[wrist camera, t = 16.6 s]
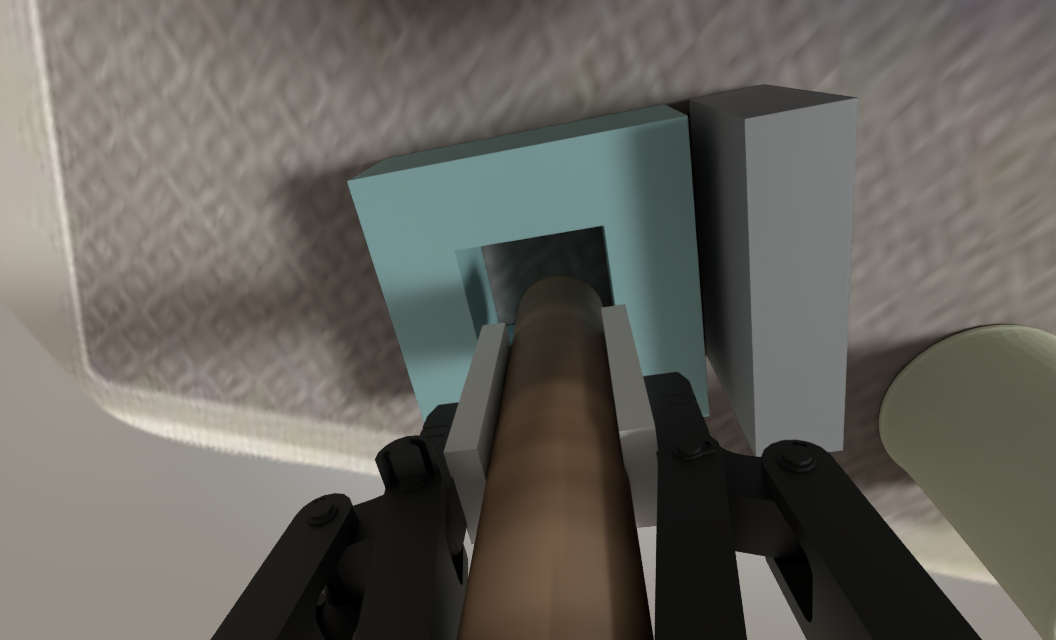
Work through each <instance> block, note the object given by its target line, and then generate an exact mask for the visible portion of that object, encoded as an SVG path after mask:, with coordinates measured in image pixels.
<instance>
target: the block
mask: <svg viewBox="0 0 1056 640" xmlns="http://www.w3.org/2000/svg"><path fill="white" fill-rule="evenodd" d="M347 183H348V186H349V189H350V192H351V195H352V198H353V201H354V205H355V208H356V211H357V214H358V217H359V220H360V223H361V226H362V230H363V233H364V236H365V239H366V242H367V245H368V248H369V252H370V255H371V258H372V261H373V264H374V267H375V270H376V273H377V277H378V280H379V283H380V286H381V289H382V292H383V295H384V299H385V302H386V305H387V308H388V311H389V314H390V317H391V320H392V324H393V327H394V330H395V333H396V336H397V339H398V342H399V345H400V349H401V352H402V355H403V358H404V361H405V364H406V367H407V371H408V374H409V377H410V380H411V383H412V386H413V389H414V392H415V396H416V399H417V402H418V405H419V408H420V411H421V414H422V418H423V421H424V423H425V420H426V418H427V416H428V415H429V414H430V413H431V412H432V411H433V410H434V409H435V407H436V406H437V405H441V404H448V403H456V402H459V400H460V397H461V394H462V391H463V387H464V384H465V381H466V378H467V374H468V371H469V368H470V365H471V361H472V358H473V355H474V352H475V348H476V345H477V342H478V339H479V335H480V332H481V329H482V326H484V325H490V324H497V323H499V321H498V317H497V312H496V308H495V304H494V300H493V295H492V291H491V287H490V282H489V278H488V274H487V270H486V265H485V261H484V257H483V253H482V248H481V246H485V245H491V244H497V243H503V242H509V241H515V240H520V239H526V238H532V237H538V236H544V235H550V234H556V233H562V232H568V231H574V230H580V229H585V228H591V227H597V226H602V233H603V240H604V247H605V254H606V261H607V268H608V275H609V282H610V289H611V296H612V303H613V306H616V305H623V304H625V305H626V310H627V314H628V318H629V322H630V326H631V330H632V334H633V338H634V342H635V346H636V350H637V354H638V359H639V363H640V367H641V371H642V375H643V376H648V375H655V374H663V373H670V372H679V373H680V374H681V375H683V376H684V377H685V378H687V379H688V380H689V381H690V384H691V386H692V389H693V392H694V394H695V397H696V399H697V403H698V405H699V407H700V410H701V412H702V415H703V417H707V416H709V403H708V389H707V376H706V362H705V348H704V335H703V321H702V307H701V293H700V280H699V266H698V252H697V239H696V225H695V211H694V198H693V184H692V170H691V156H690V143H689V129H688V116H687V115H685V114H683V113H681V112H679V111H677V110H675V109H673V108H671V107H669V106H667V105H665V104H662V105H657V106H652V107H647V108H642V109H636V110H631V111H626V112H621V113H616V114H611V115H606V116H601V117H595V118H590V119H585V120H580V121H575V122H570V123H565V124H560V125H554V126H549V127H544V128H539V129H534V130H529V131H524V132H519V133H513V134H508V135H503V136H498V137H493V138H488V139H483V140H478V141H472V142H467V143H462V144H457V145H452V146H447V147H442V148H437V149H431V150H426V151H421V152H416V153H411V154H406V155H401V156H396V157H390V158H386V159H385V160H383V161H381V162H379V163H377V164H376V165H374V166H372V167H370V168H369V169H367V170H365V171H363V172H362V173H360V174H358V175H356V176H355V177H353V178H351V179H349V180H348V181H347ZM506 328H507V332H508V337H509V341H510V345H512V340H513V334H514V329H515V324H513V325H507V326H506Z"/></svg>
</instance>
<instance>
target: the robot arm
mask: <svg viewBox="0 0 1056 640" xmlns="http://www.w3.org/2000/svg"><path fill="white" fill-rule="evenodd" d="M601 310H602V317H603V324H604V331H605V338H606V345H607V352H608V359H609V365H610V372H611V379H612V386H613V393H614V400H615V407H616V414H617V421H618V428H619V434H620V441H621V448H622V454H623V461H624V467H625V469H626V472H627V474H628V477H629V482H630V488H631V494H632V501H633V507H634V514H635V520H636V527H637V528H640V527H650V526H657V535H656V588H655V589H656V590H655V640H747V635H746V628H745V621H744V614H743V606H742V599H741V591H740V584H739V577H738V569H737V561H736V554H735V551H737V552H743V553H749V554H755V555H761V556H765V558H766V561H767V563H768V565H769V567H770V569H771V571H772V573H773V575H774V577H775V578H776V581H777V583H778V584H779V587H780V589H781V590H782V593H783V595H784V596H785V598H786V600H787V602H788V604H789V606H790V608H791V610H792V612H793V614H794V616H795V618H796V620H797V622H798V624H799V626H800V628H801V630H802V632H803V634H804V635H805V637H806V639H807V640H982V639H981V638H980V637H979V636H978V634H977V633H976V632H975V631H974V629H973V628H972V627H971V626H970V624H969V623H968V622H967V621H966V620H965V618H964V617H963V616H962V615H961V614H960V612H959V611H958V610H957V609H956V607H955V606H954V605H953V604H952V602H951V601H950V600H949V599H948V598H947V596H946V595H945V594H944V593H943V592H942V590H941V589H940V588H939V587H938V586H937V584H936V583H935V582H934V581H933V579H932V578H931V577H930V576H929V574H928V573H927V572H926V571H925V569H924V568H923V567H922V566H921V565H920V563H919V562H918V561H917V560H916V558H915V557H914V556H913V555H912V554H911V552H910V551H909V550H908V549H907V547H906V546H905V545H904V544H903V543H902V541H901V540H900V539H899V538H898V537H897V535H896V534H895V533H894V532H893V530H892V529H891V528H890V527H889V526H888V524H887V523H886V522H885V521H884V519H883V518H882V517H881V516H880V515H879V513H878V512H877V511H876V510H875V508H874V507H873V506H872V505H871V504H870V502H869V501H868V500H867V499H866V497H865V496H864V495H863V494H862V493H861V491H860V490H859V489H858V488H857V486H856V485H855V484H854V483H853V482H852V480H851V479H850V478H849V477H848V475H847V474H846V473H845V472H844V471H843V469H842V468H841V467H840V466H839V464H838V463H837V462H836V461H835V460H834V458H833V457H832V456H831V455H830V454H829V453H828V452H827V451H826V450H824V449H823V448H822V447H820V446H818V445H816V444H813V443H811V442H807V441H802V440H796V439H794V440H781V441H778V442H775V443H771V444H770V445H769V446H768V447H766V448H765V449H764V450H763V453H762V456H761V457H757V456H747V455H741V454H736V453H733V452H730V451H727V450H725V449H723V448H721V447H720V445H719V443H718V441H716V440H715V439H714V438H712V437H711V436H710V433H709V431H708V428H707V425H706V423H705V420H704V418H703V415H702V412H701V410H700V407H699V405H698V403H697V399H696V397H695V394H694V392H693V389H692V386H691V384H690V381H689V380H688V379H687V378H685V377H684V376H683V375H681V374H680V373H679V372H670V373H663V374H655V375H648V376H643V375H642V371H641V367H640V363H639V359H638V354H637V350H636V346H635V342H634V338H633V334H632V330H631V326H630V322H629V318H628V314H627V310H626V305H625V304H623V305H616V306H610V307H603V308H601ZM510 350H511V345H510V341H509V337H508V332H507V328H506V323H505V322H504V323H497V324H490V325H484V326H482V329H481V332H480V335H479V339H478V342H477V345H476V348H475V352H474V355H473V358H472V361H471V365H470V368H469V371H468V374H467V378H466V381H465V384H464V387H463V391H462V394H461V397H460V400H459V402H456V403H448V404H441V405H437V406H436V407H435V409H434V410H433V411H432V412H431V413H430V414H429V415H428V416H427V418H426V420H425V423H424V425H423V430H422V431H421V433H420V436H418V435H415V436H406V437H403V438H400V439H397V440H395V441H393V442H391V443H389V444H388V445H386V446H385V447H384V448H383V449H382V450H381V451H380V452H379V453H378V455H377V456H376V458H375V461H376V464H377V467H378V469H379V472H380V475H381V477H382V480H383V483H384V485H385V493H384V495H382V496H379V497H377V498H375V499H372V500H369V501H366V502H363V503H360V504H357V505H354V506H353V505H352V502H351V500H350V498H349V497H347V496H346V495H344V494H337V493H335V494H329V495H324V496H322V497H320V498H317V499H315V500H313V501H311V502H310V503H308V504H307V505H306V506H304V507H303V508H302V509H301V510H300V511H299V512H298V513H297V515H296V516H295V517H294V519H293V520H292V522H291V523H290V525H289V526H288V527H287V529H286V530H285V532H284V533H283V535H282V536H281V538H280V539H279V541H278V542H277V544H276V545H275V547H274V548H273V549H272V551H271V553H270V554H269V555H268V557H267V558H266V560H265V561H264V562H263V564H262V566H261V567H260V568H259V570H258V571H257V573H256V574H255V576H254V577H253V579H252V580H251V582H250V583H249V585H248V586H247V587H246V589H245V590H244V592H243V593H242V595H241V596H240V597H239V599H238V600H237V602H236V603H235V605H234V606H233V608H232V609H231V611H230V612H229V614H228V615H227V616H226V618H225V619H224V621H223V622H222V624H221V625H220V627H219V628H218V630H217V631H216V633H215V634H214V635H213V637H212V638H211V640H457V636H458V630H459V625H460V619H461V614H462V609H463V603H464V598H465V593H466V587H467V582H468V558H467V554H466V550H465V547H464V544H463V542H464V537H465V533H466V528H467V531H468V534H469V537H470V540H471V544H475V539H476V533H477V528H478V523H479V517H480V512H481V506H482V501H483V496H484V490H485V485H486V480H487V474H488V469H489V463H490V458H491V453H492V447H493V442H494V436H495V431H496V426H497V420H498V415H499V410H500V404H501V399H502V393H503V388H504V383H505V377H506V372H507V366H508V361H509V356H510Z"/></svg>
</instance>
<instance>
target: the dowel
mask: <svg viewBox="0 0 1056 640" xmlns="http://www.w3.org/2000/svg"><path fill="white" fill-rule="evenodd" d="M601 308H603V306H602V303H601V300H600V298H599V296H598V294H597V293H596V292H595V290H594V289H593V288H592V287H591V286H589V285H588V284H587V283H585V282H584V281H582V280H580V279H578V278H575V277H571V276H565V275H557V276H550V277H546V278H544V279H541V280H539V281H537V282H536V283H534V284H533V285H532V286H531V287H530V288H528V290H527V291H526V292H525V293H524V295H523V296H522V299H521V301H520V304H519V307H518V313H517V318H516V323H515V329H514V334H513V340H512V345H511V350H510V356H509V361H508V366H507V372H506V377H505V383H504V388H503V393H502V399H501V404H500V410H499V415H498V420H497V426H496V431H495V436H494V442H493V447H492V453H491V458H490V463H489V469H488V474H487V480H486V485H485V490H484V496H483V501H482V506H481V512H480V517H479V523H478V528H477V533H476V539H475V544H474V549H473V555H472V560H471V566H470V571H469V576H468V582H467V587H466V593H465V598H464V603H463V609H462V614H461V619H460V625H459V630H458V636H457V640H654V638H653V631H652V625H651V618H650V612H649V605H648V599H647V592H646V586H645V579H644V572H643V566H642V560H641V553H640V546H639V540H638V533H637V527H636V520H635V514H634V507H633V501H632V494H631V488H630V482H629V477H628V474H627V472H626V469H625V467H624V461H623V454H622V448H621V441H620V434H619V428H618V421H617V414H616V407H615V400H614V393H613V386H612V379H611V372H610V365H609V359H608V352H607V345H606V338H605V331H604V324H603V317H602V310H601Z"/></svg>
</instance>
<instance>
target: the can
mask: <svg viewBox="0 0 1056 640" xmlns="http://www.w3.org/2000/svg"><path fill="white" fill-rule="evenodd" d="M879 432H880V437H881V441H882V443H883V446H884V448H885V450H886V451H887V453H888V454H889V456H890V457H891V458H892V459H893V460H894V461H895V462H896V463H897V464H898V465H899V466H900V467H901V468H903V469H904V470H905V471H906V472H907V473H908V474H909V475H910V476H911V477H912V479H913V480H914V481H915V482H916V483H917V484H918V485H919V487H920V488H921V489H922V490H923V491H924V493H925V494H926V495H927V496H928V497H929V499H930V500H931V501H932V502H933V503H934V505H935V506H936V507H937V508H938V509H939V511H940V512H941V513H942V514H943V515H944V517H945V518H946V519H947V520H948V521H949V523H950V524H951V525H952V526H953V527H954V529H955V530H956V531H957V532H958V534H959V535H960V536H961V537H962V539H963V540H964V541H965V542H966V544H967V545H968V546H969V547H970V548H971V550H972V551H973V552H974V553H975V555H976V556H977V557H978V558H979V560H980V561H981V562H982V563H983V565H984V566H985V567H986V568H987V569H988V571H989V572H990V573H991V574H992V576H993V577H994V578H995V579H996V581H997V582H998V583H999V584H1000V586H1001V587H1002V588H1003V589H1004V590H1005V592H1006V593H1007V594H1008V595H1009V597H1010V598H1011V599H1012V600H1013V602H1014V603H1015V604H1016V605H1017V606H1018V608H1019V609H1020V610H1021V611H1022V613H1023V614H1024V615H1025V617H1026V618H1027V619H1028V621H1029V622H1030V623H1031V624H1032V626H1033V627H1034V628H1035V630H1036V631H1037V632H1038V633H1039V635H1040V636H1041V637H1042V639H1043V640H1056V336H1054V335H1052V334H1050V333H1048V332H1045V331H1042V330H1040V329H1037V328H1032V327H1027V326H1021V325H1007V324H1006V325H991V326H984V327H979V328H974V329H970V330H967V331H964V332H961V333H958V334H955V335H953V336H951V337H948V338H946V339H944V340H942V341H940V342H938V343H936V344H935V345H933V346H931V347H929V348H928V349H926V350H925V351H924V352H922V353H921V354H919V355H918V356H917V357H916V358H914V359H913V360H912V361H911V362H910V363H909V364H908V365H907V366H906V367H905V368H904V369H903V370H902V371H901V372H900V373H899V375H898V376H897V377H896V378H895V380H894V381H893V383H892V384H891V386H890V387H889V389H888V391H887V393H886V395H885V397H884V399H883V402H882V405H881V409H880V414H879Z"/></svg>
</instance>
